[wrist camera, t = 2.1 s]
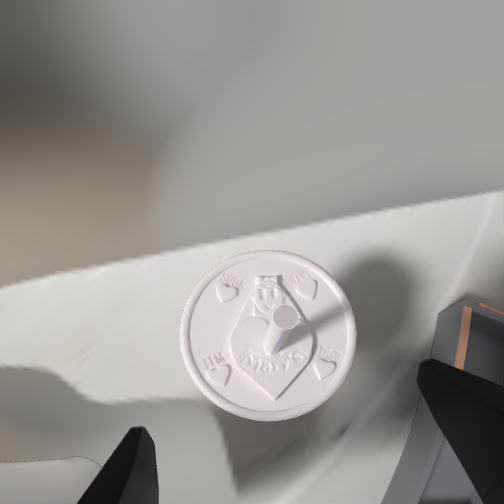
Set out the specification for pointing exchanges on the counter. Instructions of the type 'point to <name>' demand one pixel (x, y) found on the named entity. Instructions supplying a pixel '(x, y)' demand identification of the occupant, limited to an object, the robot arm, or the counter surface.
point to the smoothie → (268, 335)
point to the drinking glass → (46, 480)
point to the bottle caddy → (424, 426)
